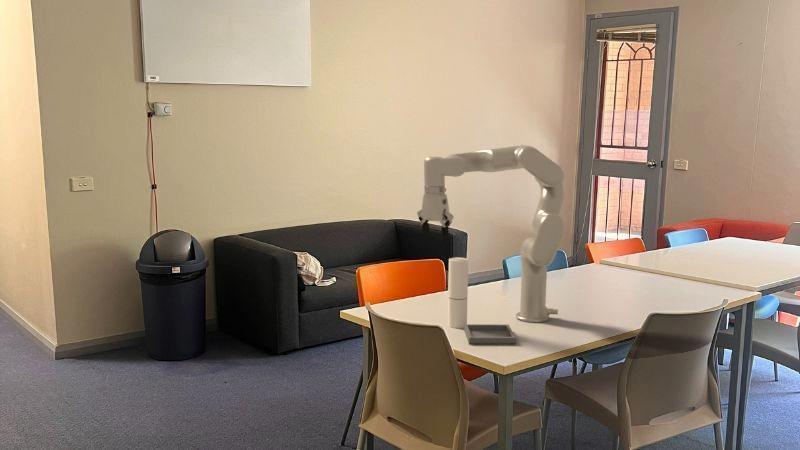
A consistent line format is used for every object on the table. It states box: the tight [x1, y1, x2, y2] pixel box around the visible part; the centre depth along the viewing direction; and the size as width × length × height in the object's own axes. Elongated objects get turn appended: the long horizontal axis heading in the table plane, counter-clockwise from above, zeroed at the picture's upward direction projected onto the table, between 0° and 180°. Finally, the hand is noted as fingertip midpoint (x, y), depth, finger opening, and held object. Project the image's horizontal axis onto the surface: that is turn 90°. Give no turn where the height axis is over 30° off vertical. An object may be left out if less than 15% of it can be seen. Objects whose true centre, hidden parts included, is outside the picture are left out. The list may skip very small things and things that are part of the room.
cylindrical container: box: [447, 257, 469, 329], centre depth 276 cm, size 7×7×25 cm
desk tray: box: [464, 323, 517, 346], centre depth 263 cm, size 16×16×2 cm
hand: (435, 236), depth 279 cm, fingers open, 9 cm apart
